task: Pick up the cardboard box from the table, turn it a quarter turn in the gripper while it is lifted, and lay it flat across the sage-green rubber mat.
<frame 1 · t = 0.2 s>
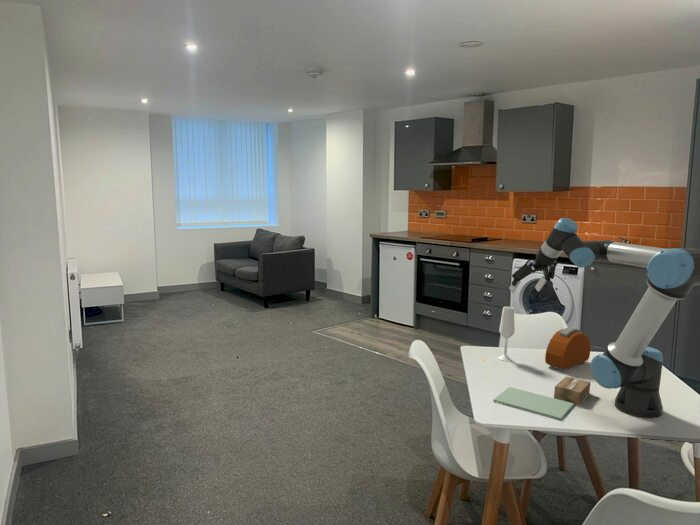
hand: (524, 289, 223), 35 cm above the table, tool tilted 35°, fingers open, 13 cm apart
orange toaster: (567, 365, 237), on the table
champagne flute: (504, 359, 243), on the table
rubber mat: (533, 403, 194), on the table
cardboard box: (571, 396, 202), on the table
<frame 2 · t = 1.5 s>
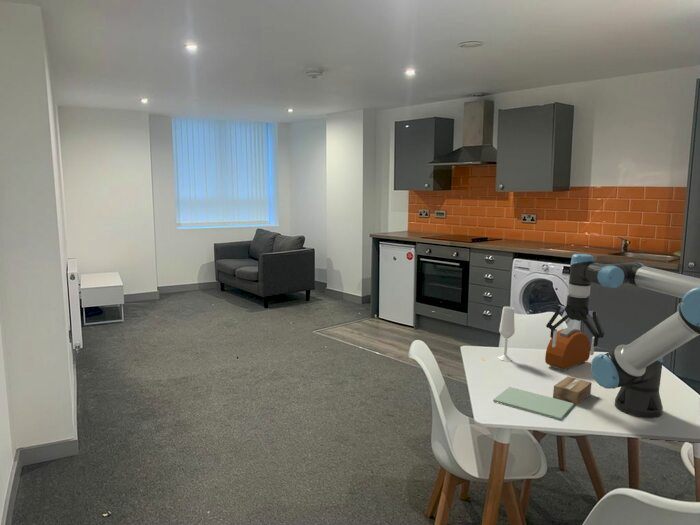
hand: (572, 350, 201), 17 cm above the table, tool pointing down, fingers open, 13 cm apart
nothing on the table moved.
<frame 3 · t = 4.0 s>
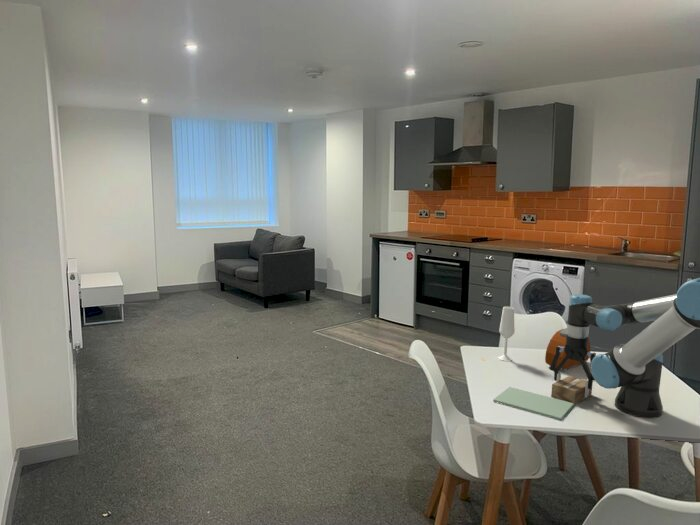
hand: (571, 392, 202), 1 cm above the table, tool pointing down, fingers closed on cardboard box, 10 cm apart
cardboard box: (571, 395, 202), on the table, touching gripper
everything else where it was.
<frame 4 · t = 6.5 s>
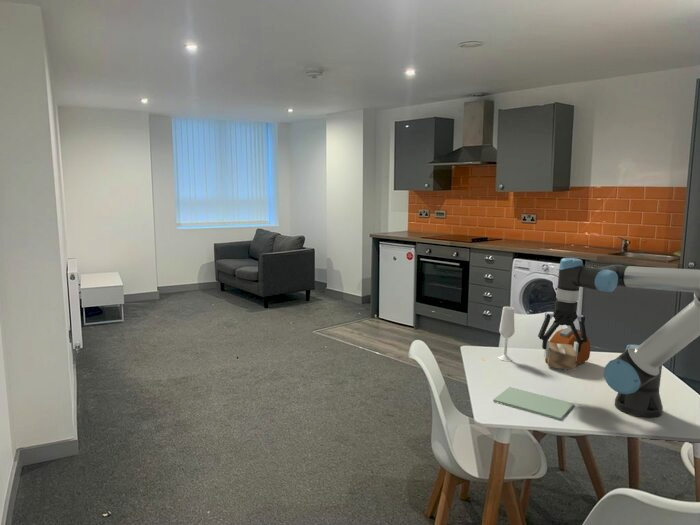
hand: (560, 358, 198), 15 cm above the table, tool pointing down, fingers closed on cardboard box, 10 cm apart
cardboard box: (559, 361, 198), point 14 cm above the table, touching gripper
everything else where it was.
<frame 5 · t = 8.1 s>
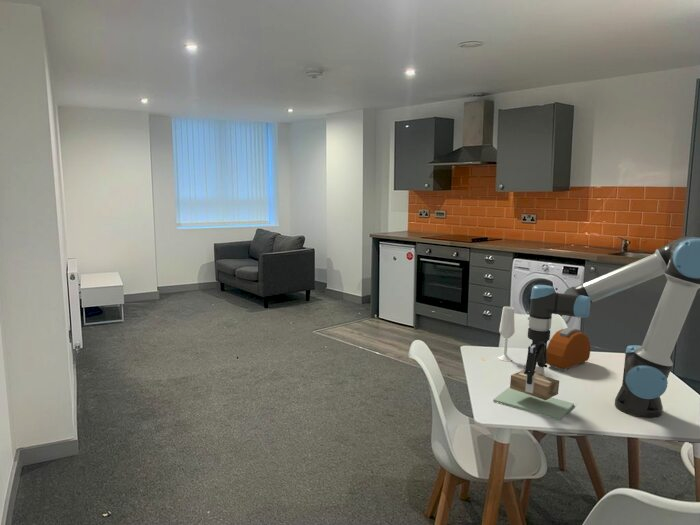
hand: (534, 387, 193), 6 cm above the table, tool pointing down, fingers closed on cardboard box, 10 cm apart
cardboard box: (533, 391, 193), point 5 cm above the table, touching gripper
everything else where it was.
when the fingers open (3 cm above the table, at t = 9.2 s): cardboard box drops 1 cm, resting on rubber mat.
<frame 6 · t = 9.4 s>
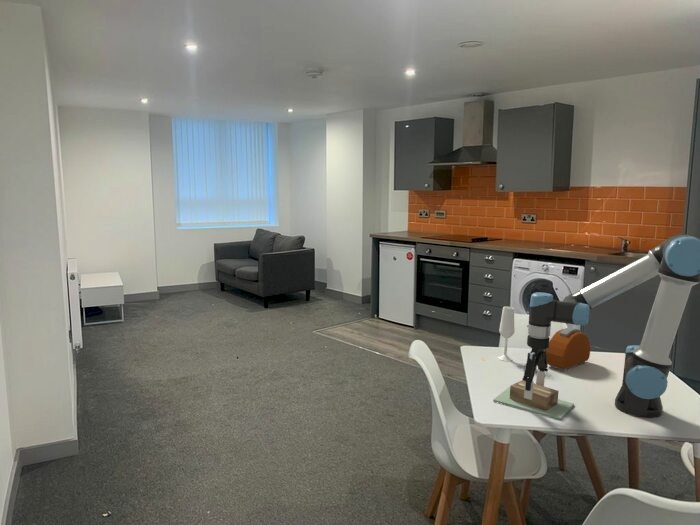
hand: (534, 393, 193), 4 cm above the table, tool pointing down, fingers open, 12 cm apart
cardboard box: (533, 401, 194), point 1 cm above the table, touching rubber mat
everything else where it was.
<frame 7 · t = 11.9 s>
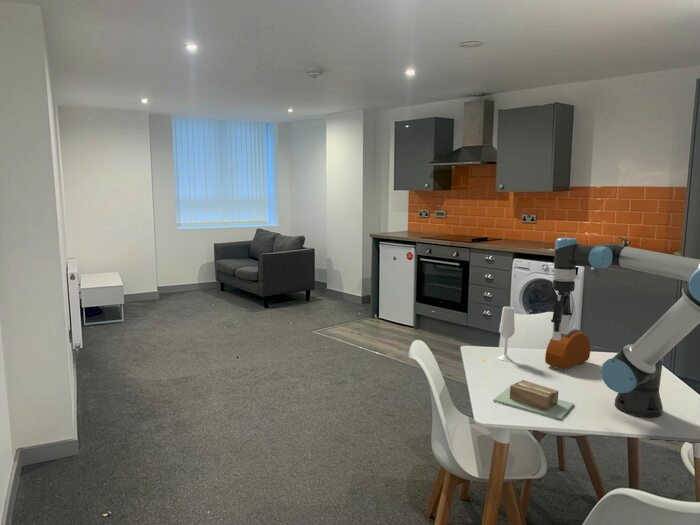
hand: (560, 335, 198), 23 cm above the table, tool pointing down, fingers open, 13 cm apart
nothing on the table moved.
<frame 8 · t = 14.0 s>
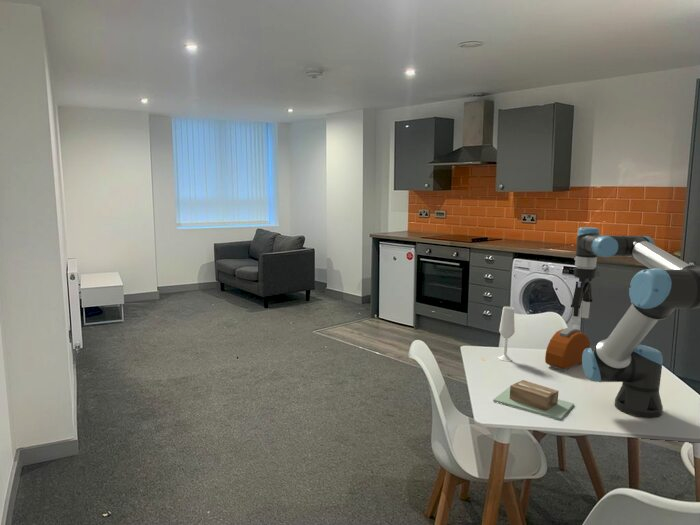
hand: (580, 321, 208), 27 cm above the table, tool pointing down, fingers open, 13 cm apart
nothing on the table moved.
at the end: cardboard box inside the target area on the rubber mat (0.0 cm from its centre), point 0.8 cm above the rubber mat's base; cardboard box tilted 0°; the gripper is holding nothing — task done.
